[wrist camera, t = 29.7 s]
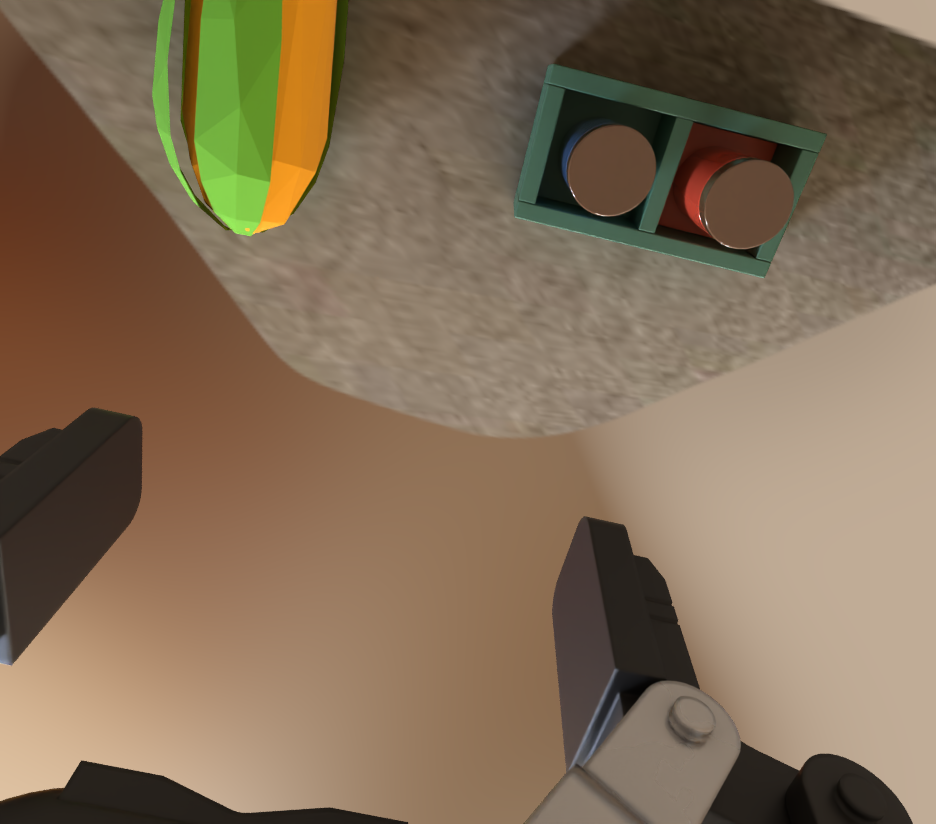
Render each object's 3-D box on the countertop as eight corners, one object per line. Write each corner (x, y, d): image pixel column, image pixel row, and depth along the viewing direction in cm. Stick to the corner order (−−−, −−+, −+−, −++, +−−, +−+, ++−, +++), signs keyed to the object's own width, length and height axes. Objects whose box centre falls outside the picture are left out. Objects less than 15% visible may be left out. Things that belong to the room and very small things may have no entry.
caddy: (548, 64, 32) (553, 63, 29) (796, 128, 33) (827, 134, 30) (513, 204, 35) (514, 217, 32) (741, 260, 36) (764, 278, 33)
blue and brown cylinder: (569, 107, 32) (583, 114, 27) (642, 126, 33) (669, 136, 27) (548, 184, 34) (557, 205, 29) (617, 202, 34) (639, 225, 29)
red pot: (688, 137, 33) (725, 149, 27) (759, 156, 33) (809, 172, 27) (662, 212, 34) (691, 238, 29) (729, 229, 34) (771, 258, 29)
